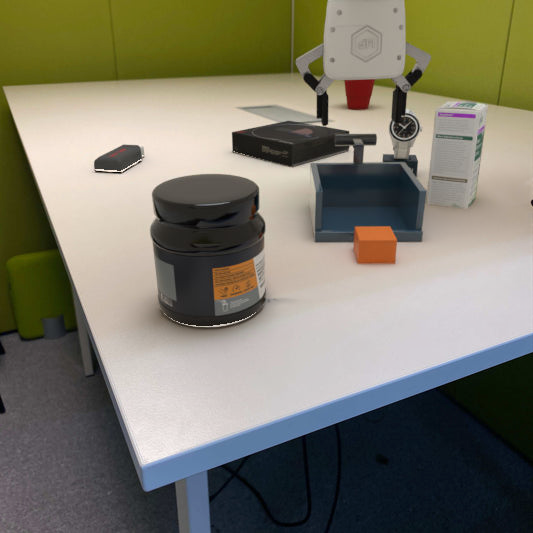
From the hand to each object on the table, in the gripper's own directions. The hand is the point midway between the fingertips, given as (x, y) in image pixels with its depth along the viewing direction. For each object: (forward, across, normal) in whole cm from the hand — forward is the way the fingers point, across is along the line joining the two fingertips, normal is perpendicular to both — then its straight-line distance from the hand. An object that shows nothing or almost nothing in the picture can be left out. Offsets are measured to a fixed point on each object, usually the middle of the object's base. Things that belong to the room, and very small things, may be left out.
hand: (360, 122), depth 74 cm
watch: (+12, +9, +16) cm, 22 cm away
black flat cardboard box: (+12, -9, +34) cm, 37 cm away
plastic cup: (+13, +11, +85) cm, 87 cm away
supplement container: (+12, -18, -29) cm, 36 cm away
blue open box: (+11, -1, -7) cm, 14 cm away
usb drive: (+11, -41, +25) cm, 49 cm away
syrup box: (+13, +13, -1) cm, 18 cm away
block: (+8, -1, -20) cm, 21 cm away
